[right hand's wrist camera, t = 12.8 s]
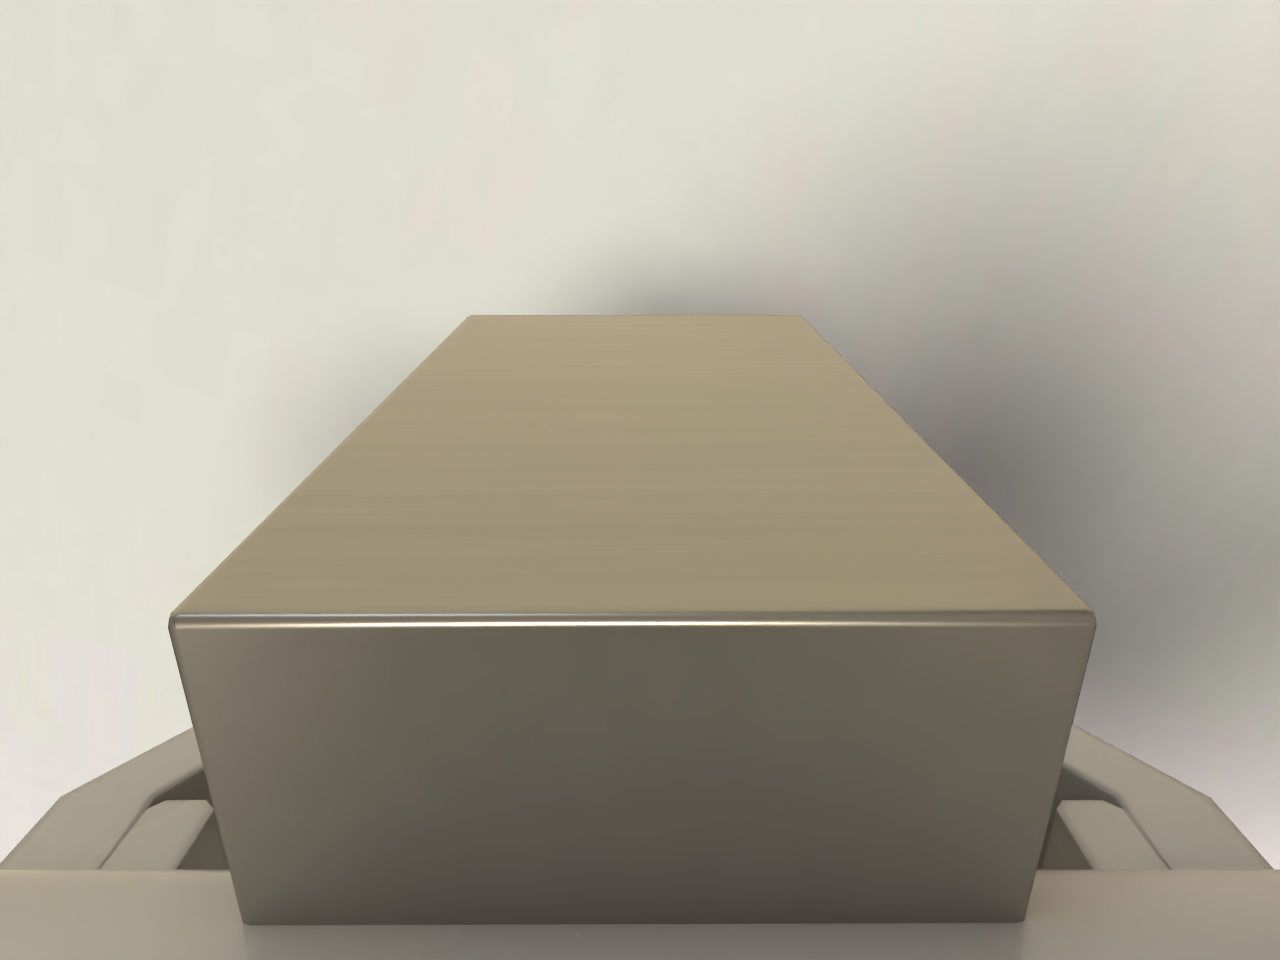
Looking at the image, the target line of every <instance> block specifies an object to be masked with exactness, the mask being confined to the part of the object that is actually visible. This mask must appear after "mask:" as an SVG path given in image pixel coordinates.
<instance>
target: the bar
mask: <svg viewBox="0 0 1280 960" xmlns="http://www.w3.org/2000/svg"><path fill="white" fill-rule="evenodd" d="M168 629H169V633H170V637H171V641H172V645H173V649H174V653H175V657H176V661H177V665H178V669H179V673H180V677H181V681H182V685H183V689H184V692H185V696H186V700H187V704H188V708H189V712H190V716H191V720H192V724H193V728H194V732H195V736H196V740H197V744H198V748H199V752H200V756H201V760H202V764H203V768H204V771H205V775H206V779H207V783H208V787H209V791H210V795H211V799H212V803H213V807H214V811H215V815H216V819H217V823H218V827H219V831H220V835H221V839H222V843H223V846H224V850H225V854H226V858H227V862H228V866H229V870H230V874H231V878H232V882H233V886H234V890H235V894H236V898H237V902H238V906H239V910H240V914H241V918H242V922H243V923H245V924H247V925H546V924H857V923H1018V922H1021V921H1024V920H1025V916H1026V911H1027V907H1028V903H1029V899H1030V895H1031V891H1032V887H1033V883H1034V879H1035V875H1036V871H1037V866H1038V862H1039V858H1040V854H1041V850H1042V846H1043V842H1044V838H1045V834H1046V830H1047V826H1048V822H1049V817H1050V813H1051V809H1052V805H1053V801H1054V797H1055V793H1056V789H1057V785H1058V781H1059V777H1060V772H1061V768H1062V764H1063V760H1064V756H1065V752H1066V748H1067V744H1068V740H1069V736H1070V732H1071V728H1072V723H1073V719H1074V715H1075V711H1076V707H1077V703H1078V699H1079V695H1080V691H1081V687H1082V683H1083V678H1084V674H1085V670H1086V666H1087V662H1088V658H1089V654H1090V650H1091V646H1092V642H1093V638H1094V634H1095V629H1096V618H1095V615H1094V612H1093V610H1092V609H1091V608H1090V607H1089V606H1088V605H1087V604H1086V603H1085V602H1084V601H1083V600H1082V599H1081V598H1080V597H1079V596H1078V595H1077V594H1076V593H1075V592H1074V591H1073V590H1072V589H1071V588H1070V587H1069V586H1068V585H1067V584H1066V583H1065V582H1064V581H1063V580H1062V579H1061V578H1060V577H1059V576H1058V575H1057V574H1056V573H1055V572H1054V571H1053V570H1052V569H1051V568H1050V567H1049V566H1048V565H1047V564H1046V563H1045V562H1044V561H1043V560H1042V559H1041V558H1040V557H1039V556H1038V555H1037V554H1036V552H1035V551H1034V550H1033V549H1032V548H1031V547H1030V546H1029V545H1028V544H1027V543H1026V542H1025V541H1024V540H1023V539H1022V538H1021V537H1020V536H1019V535H1018V534H1017V533H1016V532H1015V531H1014V530H1013V529H1012V528H1011V527H1010V526H1009V525H1008V524H1007V523H1006V522H1005V521H1004V520H1003V519H1002V518H1001V517H1000V516H999V515H998V514H997V513H996V512H995V511H994V510H993V509H992V508H991V507H990V506H989V505H988V504H987V503H986V502H985V501H984V500H983V499H982V498H981V497H980V496H979V495H978V494H977V493H976V492H975V491H974V490H973V489H972V488H971V487H970V486H969V485H968V484H967V483H966V482H965V481H964V480H963V479H962V478H961V477H960V476H959V475H958V474H957V473H956V472H955V471H954V470H953V469H952V468H951V467H950V466H949V465H948V464H947V463H946V462H945V461H944V460H943V459H942V458H941V457H940V456H939V455H938V453H937V452H936V451H935V450H934V449H933V448H932V447H931V446H930V445H929V444H928V443H927V442H926V441H925V440H924V439H923V438H922V437H921V436H920V435H919V434H918V433H917V432H916V431H915V430H914V429H913V428H912V427H911V426H910V425H909V424H908V423H907V422H906V421H905V420H904V419H903V418H902V417H901V416H900V415H899V414H898V413H897V412H896V411H895V410H894V409H893V408H892V407H891V406H890V405H889V404H888V403H887V402H886V401H885V400H884V399H883V398H882V397H881V396H880V395H879V394H878V393H877V392H876V391H875V390H874V389H873V388H872V387H871V386H870V385H869V384H868V383H867V382H866V381H865V380H864V379H863V378H862V377H861V376H860V375H859V374H858V373H857V372H856V371H855V370H854V369H853V368H852V367H851V366H850V365H849V364H848V363H847V362H846V361H845V360H844V359H843V358H842V357H841V355H840V354H839V353H838V352H837V351H836V350H835V349H834V348H833V347H832V346H831V345H830V344H829V343H828V342H827V341H826V340H825V339H824V338H823V337H822V336H821V335H820V334H819V333H818V332H817V331H816V330H815V329H814V328H813V327H812V326H811V325H810V324H809V323H808V322H807V321H806V320H805V319H804V318H803V317H802V316H799V315H471V316H469V317H467V318H466V319H465V320H464V321H463V322H462V323H461V324H460V325H459V326H458V327H457V328H456V329H455V330H454V331H453V332H452V333H451V334H450V335H449V336H448V337H447V338H446V339H445V340H444V341H443V342H442V343H441V344H440V345H439V346H438V347H437V348H436V349H435V350H434V351H433V352H432V353H431V354H430V355H429V356H428V357H427V358H426V359H425V360H424V361H423V362H422V363H421V364H420V365H419V366H418V367H417V368H416V369H415V370H414V371H413V372H412V373H411V374H410V375H409V376H408V377H407V378H406V379H405V380H404V381H403V382H402V383H401V384H400V385H399V386H398V387H397V388H396V389H395V390H394V391H393V392H392V393H391V394H390V395H389V396H388V397H387V398H386V399H385V400H384V401H383V402H382V403H381V404H380V405H379V406H378V407H377V408H376V409H375V410H374V411H373V412H372V413H371V414H370V415H369V416H368V417H367V418H366V419H365V420H364V421H363V422H362V423H361V424H360V425H359V426H358V427H357V428H356V429H355V430H354V431H353V432H352V433H351V434H350V435H349V436H348V437H347V438H346V439H345V440H344V441H343V442H342V443H341V444H340V445H339V446H338V447H337V448H336V449H335V450H334V451H333V452H332V453H331V454H330V455H329V456H328V457H327V458H326V459H325V460H324V461H323V462H322V463H321V464H320V465H319V466H318V467H317V468H316V469H315V470H314V471H313V472H312V473H311V474H310V475H309V476H308V477H307V478H306V479H305V480H304V481H303V482H302V483H301V484H300V485H299V486H298V487H297V488H296V489H295V490H294V491H293V492H292V493H291V494H290V495H289V496H288V497H287V498H286V499H285V500H284V501H283V502H282V503H281V504H280V505H279V506H278V507H277V508H276V509H275V510H274V511H273V512H272V513H271V514H270V515H269V516H268V517H267V518H266V519H265V520H264V521H263V522H262V523H261V524H260V525H259V526H258V527H257V528H256V529H255V530H254V531H253V532H252V533H251V534H250V535H249V536H248V537H247V538H246V539H245V540H244V541H243V542H242V543H241V544H240V545H239V546H238V547H237V548H236V549H235V550H234V551H233V552H232V553H231V554H230V555H229V556H228V557H227V558H226V559H225V560H224V561H223V562H222V563H221V564H220V565H219V566H218V567H217V568H216V569H215V570H214V571H213V572H212V573H211V574H210V575H209V576H208V577H207V578H206V579H205V580H204V581H203V582H202V583H201V584H200V585H199V586H198V587H197V588H196V589H195V590H194V591H193V592H192V593H191V594H190V595H189V596H188V597H187V598H186V599H185V600H184V601H183V602H182V603H181V604H180V605H179V606H178V607H177V608H176V609H175V610H174V611H173V612H172V613H171V615H170V618H169V625H168Z"/></svg>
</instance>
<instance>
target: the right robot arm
mask: <svg viewBox="0 0 1280 960" xmlns="http://www.w3.org/2000/svg"><path fill="white" fill-rule="evenodd" d="M0 960H1280V870H1274V869H1273V868H1272V867H1271V866H1270V864H1269V863H1268V862H1267V861H1266V860H1265V859H1264V858H1263V857H1262V855H1261V854H1260V853H1259V852H1258V851H1257V850H1256V849H1255V847H1254V846H1253V845H1252V844H1251V843H1250V842H1249V841H1248V840H1247V838H1246V837H1245V836H1244V835H1243V834H1242V833H1241V832H1240V831H1239V829H1238V828H1237V827H1236V826H1235V825H1234V824H1233V823H1232V821H1231V820H1230V819H1229V818H1228V817H1227V816H1226V815H1225V814H1224V812H1223V811H1222V810H1221V809H1220V808H1219V807H1218V806H1217V804H1216V803H1215V802H1214V801H1213V800H1212V799H1211V798H1210V797H1208V796H1206V795H1204V794H1202V793H1201V792H1199V791H1197V790H1195V789H1193V788H1191V787H1189V786H1187V785H1186V784H1184V783H1182V782H1180V781H1178V780H1176V779H1174V778H1172V777H1171V776H1169V775H1167V774H1165V773H1163V772H1161V771H1159V770H1157V769H1156V768H1154V767H1152V766H1150V765H1148V764H1146V763H1144V762H1142V761H1141V760H1139V759H1137V758H1135V757H1133V756H1131V755H1129V754H1127V753H1126V752H1124V751H1122V750H1120V749H1118V748H1116V747H1114V746H1112V745H1111V744H1109V743H1107V742H1105V741H1103V740H1101V739H1099V738H1097V737H1096V736H1094V735H1092V734H1090V733H1088V732H1086V731H1084V730H1082V729H1081V728H1079V727H1077V726H1075V725H1073V724H1072V728H1071V732H1070V736H1069V740H1068V744H1067V748H1066V752H1065V756H1064V760H1063V764H1062V768H1061V772H1060V777H1059V781H1058V785H1057V789H1056V793H1055V797H1054V801H1053V805H1052V809H1051V813H1050V817H1049V822H1048V826H1047V830H1046V834H1045V838H1044V842H1043V846H1042V850H1041V854H1040V858H1039V862H1038V866H1037V871H1036V875H1035V879H1034V883H1033V887H1032V891H1031V895H1030V899H1029V903H1028V907H1027V911H1026V916H1025V920H1024V921H1021V922H1018V923H857V924H546V925H247V924H245V923H243V922H242V918H241V914H240V910H239V906H238V902H237V898H236V894H235V890H234V886H233V882H232V878H231V874H230V870H229V866H228V862H227V858H226V854H225V850H224V846H223V843H222V839H221V835H220V831H219V827H218V823H217V819H216V815H215V811H214V807H213V803H212V799H211V795H210V791H209V787H208V783H207V779H206V775H205V771H204V768H203V764H202V760H201V756H200V752H199V748H198V744H197V740H196V736H195V732H194V728H193V727H192V728H190V729H188V730H187V731H185V732H183V733H181V734H179V735H177V736H175V737H173V738H171V739H169V740H168V741H166V742H164V743H162V744H160V745H158V746H156V747H154V748H152V749H150V750H149V751H147V752H145V753H143V754H141V755H139V756H137V757H135V758H133V759H132V760H130V761H128V762H126V763H124V764H122V765H120V766H118V767H116V768H114V769H113V770H111V771H109V772H107V773H105V774H103V775H101V776H99V777H97V778H95V779H94V780H92V781H90V782H88V783H86V784H84V785H82V786H80V787H78V788H76V789H75V790H73V791H71V792H69V793H67V794H65V795H63V796H61V797H60V798H59V799H58V800H57V802H56V803H55V804H54V805H53V806H52V807H51V808H50V809H49V810H48V811H47V813H46V814H45V815H44V816H43V817H42V818H41V819H40V820H39V821H38V822H37V824H36V825H35V826H34V827H33V828H32V829H31V830H30V831H29V832H28V834H27V835H26V836H25V837H24V838H23V839H22V840H21V841H20V842H19V843H18V845H17V846H16V847H15V848H14V849H13V850H12V851H11V852H10V853H9V855H8V856H7V857H6V858H5V859H4V860H3V861H2V862H1V863H0Z"/></svg>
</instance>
